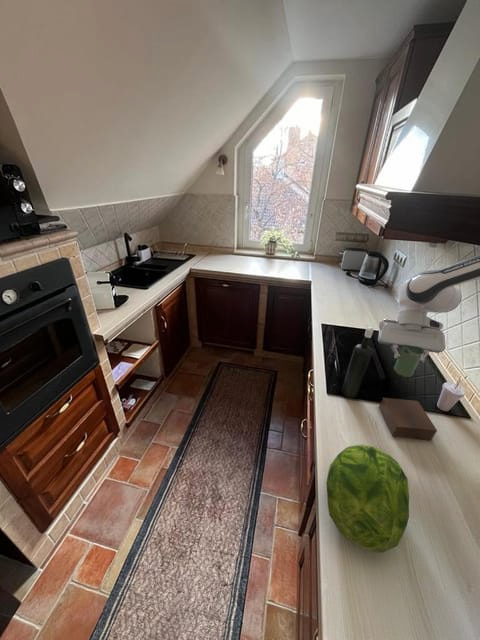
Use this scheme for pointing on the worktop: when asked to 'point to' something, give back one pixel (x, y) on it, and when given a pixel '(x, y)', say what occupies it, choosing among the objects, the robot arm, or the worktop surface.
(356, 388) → the wine bottle
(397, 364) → the green tin
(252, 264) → the worktop surface
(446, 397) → the smoothie
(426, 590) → the worktop surface
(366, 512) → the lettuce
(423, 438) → the walnut block
